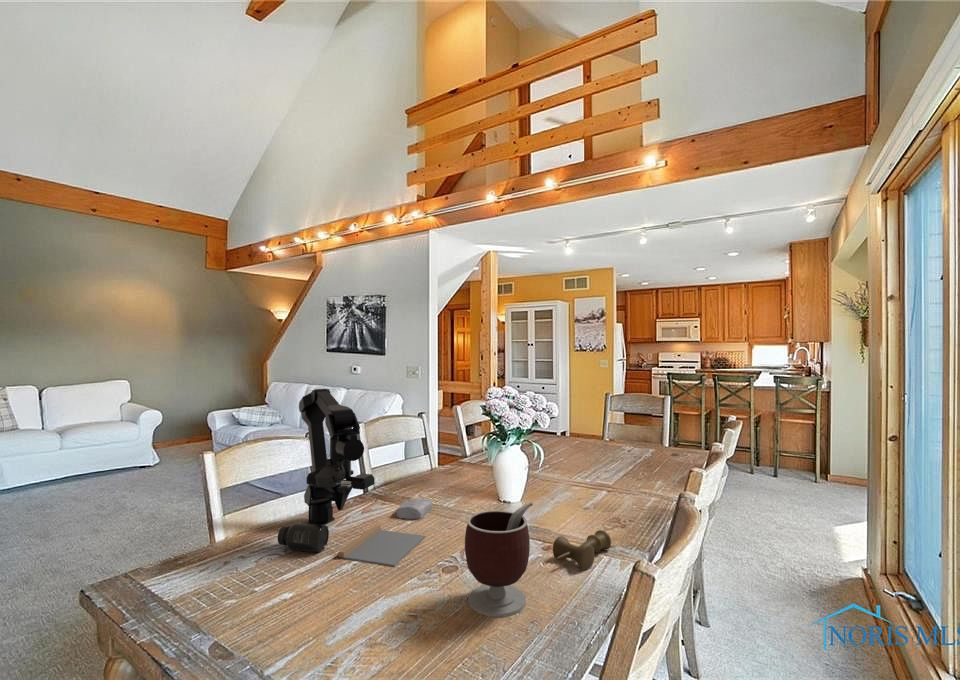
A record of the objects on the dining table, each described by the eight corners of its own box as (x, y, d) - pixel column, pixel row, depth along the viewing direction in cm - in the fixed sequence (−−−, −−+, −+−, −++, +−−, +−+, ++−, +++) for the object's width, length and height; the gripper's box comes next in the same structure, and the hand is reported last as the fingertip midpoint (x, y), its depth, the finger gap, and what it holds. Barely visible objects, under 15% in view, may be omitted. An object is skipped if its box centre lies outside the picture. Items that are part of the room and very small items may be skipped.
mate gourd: (480, 625, 93) (480, 522, 93) (455, 592, 106) (455, 501, 106) (548, 608, 99) (548, 511, 99) (517, 578, 112) (517, 493, 112)
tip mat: (338, 557, 122) (338, 551, 122) (375, 530, 140) (375, 525, 140) (394, 566, 118) (394, 560, 118) (425, 537, 136) (425, 531, 136)
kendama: (620, 556, 125) (572, 578, 112) (589, 545, 132) (541, 565, 119) (619, 532, 126) (572, 552, 112) (589, 523, 133) (541, 540, 120)
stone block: (394, 524, 151) (424, 520, 149) (391, 509, 151) (421, 504, 149) (407, 513, 162) (435, 509, 160) (405, 499, 163) (432, 494, 161)
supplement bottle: (328, 519, 129) (287, 516, 131) (316, 533, 123) (273, 530, 125) (330, 542, 130) (290, 539, 132) (318, 558, 124) (276, 554, 126)
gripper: (293, 458, 129) (292, 516, 128) (353, 463, 123) (353, 523, 123) (319, 449, 139) (318, 503, 139) (375, 454, 134) (375, 509, 133)
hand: (340, 509), depth 133 cm, fingers closed
